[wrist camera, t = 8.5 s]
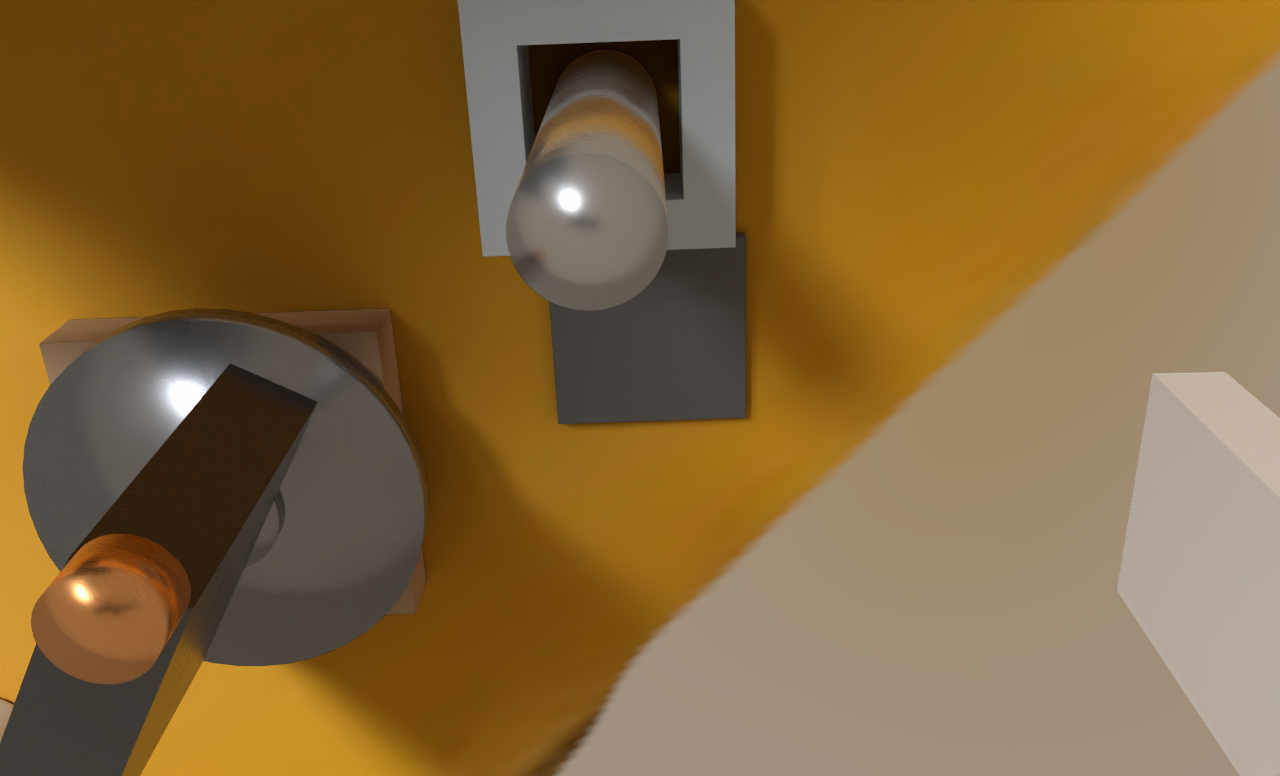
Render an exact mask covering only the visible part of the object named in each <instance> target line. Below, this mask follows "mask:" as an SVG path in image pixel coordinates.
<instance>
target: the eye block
mask: <svg viewBox="0 0 1280 776" xmlns="http://www.w3.org/2000/svg"><path fill="white" fill-rule="evenodd" d="M458 10H459V20H460V30H461V41H462V51H463V61H464V71H465V81H466V92H467V102H468V112H469V122H470V132H471V142H472V153H473V163H474V173H475V183H476V193H477V203H478V214H479V224H480V234H481V244H482V254H483V257H485V256H510V253H509V250H508V246H507V240H506V222H507V215H508V211H509V207H510V204H511V202H512V199H513V197H514V194H515V191H516V189H517V186H518V183H519V181H520V178H521V176H522V173H523V170H524V168H525V165H526V163H527V160H528V157H529V155H530V152H531V149H532V147H533V144H534V142H535V131H534V117H533V104H532V91H531V78H530V64H529V51H528V45H543V44H568V43H594V42H620V41H645V40H671V39H677V59H678V102H679V144H680V173H667V174H664V183H665V195H666V207H667V219H668V231H669V233H668V245H667V250H677V249H704V248H732V247H736V197H735V0H458Z"/></svg>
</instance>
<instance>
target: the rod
mask: <svg viewBox="0 0 1280 776" xmlns="http://www.w3.org/2000/svg"><path fill="white" fill-rule="evenodd" d="M668 233H669V231H668V219H667V207H666V195H665V183H664V171H663V159H662V148H661V136H660V124H659V112H658V100H657V93H656V88H655V85H654V83H653V80H652V78H651V77H650V75H649V73H648V72H647V71H646V69H645V68H644V67H643V66H642V65H641V64H640V63H639V62H638V61H636V60H635V59H634V58H632V57H630V56H629V55H626V54H624V53H621V52H618V51H613V50H596V51H592V52H588V53H586V54H583V55H581V56H580V57H578V58H576V59H575V60H574V61H572V62H571V63H570V64H569V65H568V66H567V67H566V68H565V70H564V71H563V72H562V74H561V76H560V77H559V79H558V82H557V84H556V87H555V89H554V92H553V95H552V97H551V100H550V102H549V105H548V108H547V110H546V113H545V115H544V118H543V121H542V123H541V126H540V129H539V131H538V134H537V136H536V139H535V142H534V144H533V147H532V149H531V152H530V155H529V157H528V160H527V163H526V165H525V168H524V170H523V173H522V176H521V178H520V181H519V183H518V186H517V189H516V191H515V194H514V197H513V199H512V202H511V204H510V207H509V211H508V215H507V222H506V240H507V246H508V250H509V253H510V257H511V259H512V261H513V264H514V266H515V268H516V269H517V271H518V273H519V274H520V276H521V277H522V278H523V280H524V281H525V282H526V283H527V284H528V285H529V286H530V287H531V288H532V289H533V290H534V291H535V292H537V293H538V294H539V295H541V296H542V297H544V298H545V299H547V300H549V301H551V302H553V303H555V304H557V305H560V306H563V307H566V308H570V309H576V310H588V311H593V310H602V309H607V308H611V307H614V306H617V305H620V304H622V303H624V302H626V301H628V300H630V299H632V298H633V297H635V296H636V295H638V294H639V293H640V292H641V291H642V290H644V289H645V288H646V287H647V286H648V285H649V283H650V282H651V281H652V280H653V279H654V277H655V276H656V274H657V273H658V271H659V269H660V267H661V265H662V263H663V261H664V257H665V254H666V251H667V245H668Z"/></svg>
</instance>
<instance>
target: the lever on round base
mask: <svg viewBox="0 0 1280 776" xmlns="http://www.w3.org/2000/svg"><path fill="white" fill-rule="evenodd" d="M23 476H24V488H25V495H26V499H27V503H28V508H29V512H30V515H31V518H32V520H33V523H34V526H35V528H36V531H37V534H38V536H39V538H40V540H41V542H42V543H43V545H44V547H45V549H46V551H47V553H48V555H49V556H50V558H51V559H52V561H53V562H54V564H55V565H56V566H57V568H58V569H59V571H60V574H59V575H58V576H57V577H56V578H55V580H54V581H53V582H52V583H51V585H50V586H49V587H48V588H47V589H46V591H45V592H44V593H43V594H42V595H41V597H40V598H39V599H38V601H37V602H36V604H35V606H34V609H33V612H32V618H31V626H32V632H33V636H34V638H35V641H36V646H35V649H34V652H33V654H32V657H31V660H30V663H29V665H28V668H27V671H26V674H25V676H24V679H23V682H22V684H21V687H20V690H19V693H18V695H17V698H16V701H15V704H14V706H13V709H12V712H11V715H10V717H9V720H8V723H7V726H6V728H5V731H4V734H3V736H2V739H1V742H0V776H140V775H141V773H142V771H143V769H144V767H145V766H146V764H147V762H148V760H149V758H150V756H151V755H152V753H153V751H154V749H155V747H156V746H157V744H158V742H159V740H160V738H161V736H162V735H163V733H164V731H165V729H166V727H167V726H168V724H169V722H170V720H171V718H172V717H173V715H174V713H175V711H176V709H177V707H178V706H179V704H180V702H181V700H182V698H183V697H184V695H185V693H186V691H187V689H188V687H189V686H190V684H191V682H192V680H193V678H194V677H195V675H196V673H197V671H198V669H199V668H200V666H201V664H202V662H203V661H207V662H212V663H219V664H227V665H236V666H268V665H278V664H287V663H292V662H297V661H301V660H306V659H310V658H313V657H316V656H319V655H322V654H325V653H328V652H331V651H333V650H335V649H337V648H339V647H341V646H343V645H345V644H347V643H349V642H351V641H352V640H354V639H355V638H357V637H359V636H360V635H362V634H363V633H365V632H366V631H368V630H369V629H370V628H371V627H372V626H373V625H375V624H376V623H377V622H378V621H379V620H380V619H381V618H383V617H384V616H385V615H386V613H387V612H388V611H389V610H390V609H391V608H392V606H393V605H394V604H395V603H396V602H397V600H398V599H399V597H400V596H401V594H402V593H403V591H404V589H405V588H406V586H407V584H408V583H409V581H410V578H411V576H412V574H413V571H414V569H415V567H416V564H417V562H418V558H419V555H420V552H421V549H422V546H423V542H424V538H425V534H426V530H427V526H428V516H429V504H430V502H429V487H428V479H427V474H426V469H425V465H424V460H423V457H422V454H421V451H420V449H419V446H418V443H417V441H416V438H415V436H414V434H413V432H412V430H411V428H410V426H409V424H408V423H407V421H406V419H405V417H404V415H403V414H402V412H401V411H400V409H399V408H398V407H397V405H396V404H395V402H394V401H393V400H392V398H391V397H390V395H389V394H388V393H387V392H386V391H385V390H384V389H383V388H382V386H381V385H380V384H379V383H378V382H377V381H376V380H375V379H374V378H373V377H372V375H370V374H369V373H368V372H367V371H366V370H365V369H363V368H362V367H361V366H360V365H359V364H358V363H356V362H355V361H354V360H353V359H352V358H351V357H349V356H348V355H346V354H345V353H343V352H342V351H340V350H339V349H337V348H336V347H334V346H333V345H331V344H330V343H328V342H327V341H325V340H323V339H321V338H319V337H317V336H315V335H313V334H311V333H309V332H307V331H305V330H303V329H301V328H298V327H296V326H293V325H290V324H288V323H285V322H283V321H280V320H277V319H273V318H269V317H266V316H262V315H258V314H254V313H250V312H242V311H235V310H228V309H198V308H196V309H187V310H178V311H169V312H165V313H161V314H157V315H153V316H149V317H145V318H142V319H140V320H137V321H135V322H132V323H130V324H127V325H125V326H122V327H120V328H118V329H117V330H115V331H113V332H112V333H110V334H108V335H106V336H105V337H103V338H101V339H100V340H98V341H97V342H96V343H95V344H93V345H92V346H91V347H90V348H88V349H87V350H86V351H85V352H83V353H82V354H81V355H80V356H79V357H78V358H76V359H75V360H74V361H73V362H72V363H71V364H70V365H68V366H67V367H66V368H65V369H64V371H63V372H62V373H61V374H60V375H59V376H58V377H57V378H56V379H55V380H54V382H53V383H52V384H51V385H50V387H49V388H48V390H47V391H46V393H45V394H44V396H43V398H42V399H41V401H40V402H39V404H38V406H37V409H36V411H35V413H34V416H33V418H32V420H31V423H30V426H29V430H28V434H27V438H26V442H25V447H24V461H23Z"/></svg>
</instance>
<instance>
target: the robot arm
mask: <svg viewBox="0 0 1280 776" xmlns="http://www.w3.org/2000/svg"><path fill="white" fill-rule="evenodd" d="M1117 592H1118V593H1119V595H1120V596H1121V598H1122V599H1123V601H1124V602H1125V604H1126V605H1127V607H1128V608H1129V610H1130V611H1131V613H1132V614H1133V616H1134V617H1135V619H1136V620H1137V622H1138V623H1139V625H1140V626H1141V628H1142V629H1143V631H1144V632H1145V634H1146V635H1147V637H1148V638H1149V640H1150V641H1151V643H1152V644H1153V646H1154V647H1155V649H1156V650H1157V652H1158V653H1159V655H1160V656H1161V658H1162V659H1163V661H1164V662H1165V664H1166V665H1167V667H1168V668H1169V670H1170V671H1171V673H1172V674H1173V676H1174V677H1175V679H1176V680H1177V682H1178V683H1179V685H1180V686H1181V688H1182V689H1183V691H1184V693H1185V694H1186V696H1187V697H1188V698H1189V700H1190V702H1191V703H1192V705H1193V706H1194V708H1195V709H1196V711H1197V712H1198V713H1199V715H1200V716H1201V718H1202V720H1203V721H1204V722H1205V724H1206V726H1207V727H1208V729H1209V730H1210V732H1211V733H1212V735H1213V736H1214V738H1215V739H1216V741H1217V742H1218V744H1219V745H1220V747H1221V748H1222V749H1223V751H1224V753H1225V754H1226V756H1227V757H1228V759H1229V760H1230V762H1231V763H1232V765H1233V766H1234V768H1235V769H1236V771H1237V772H1238V774H1239V775H1240V776H1280V418H1279V417H1278V416H1276V415H1275V414H1274V413H1273V412H1272V411H1270V410H1269V409H1268V408H1267V407H1266V406H1265V405H1263V404H1262V403H1261V402H1260V401H1259V400H1258V399H1256V398H1255V397H1254V396H1253V395H1252V394H1251V393H1249V392H1248V391H1247V390H1246V389H1245V388H1244V387H1242V386H1241V385H1240V384H1239V383H1237V382H1236V381H1235V380H1234V379H1233V378H1232V377H1231V376H1229V375H1228V374H1227V373H1226V372H1192V373H1159V374H1158V373H1157V374H1152V381H1151V386H1150V393H1149V398H1148V404H1147V411H1146V417H1145V423H1144V429H1143V435H1142V441H1141V447H1140V453H1139V459H1138V465H1137V471H1136V477H1135V483H1134V489H1133V495H1132V501H1131V507H1130V513H1129V520H1128V526H1127V531H1126V537H1125V543H1124V550H1123V556H1122V562H1121V568H1120V574H1119V580H1118V586H1117Z"/></svg>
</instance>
